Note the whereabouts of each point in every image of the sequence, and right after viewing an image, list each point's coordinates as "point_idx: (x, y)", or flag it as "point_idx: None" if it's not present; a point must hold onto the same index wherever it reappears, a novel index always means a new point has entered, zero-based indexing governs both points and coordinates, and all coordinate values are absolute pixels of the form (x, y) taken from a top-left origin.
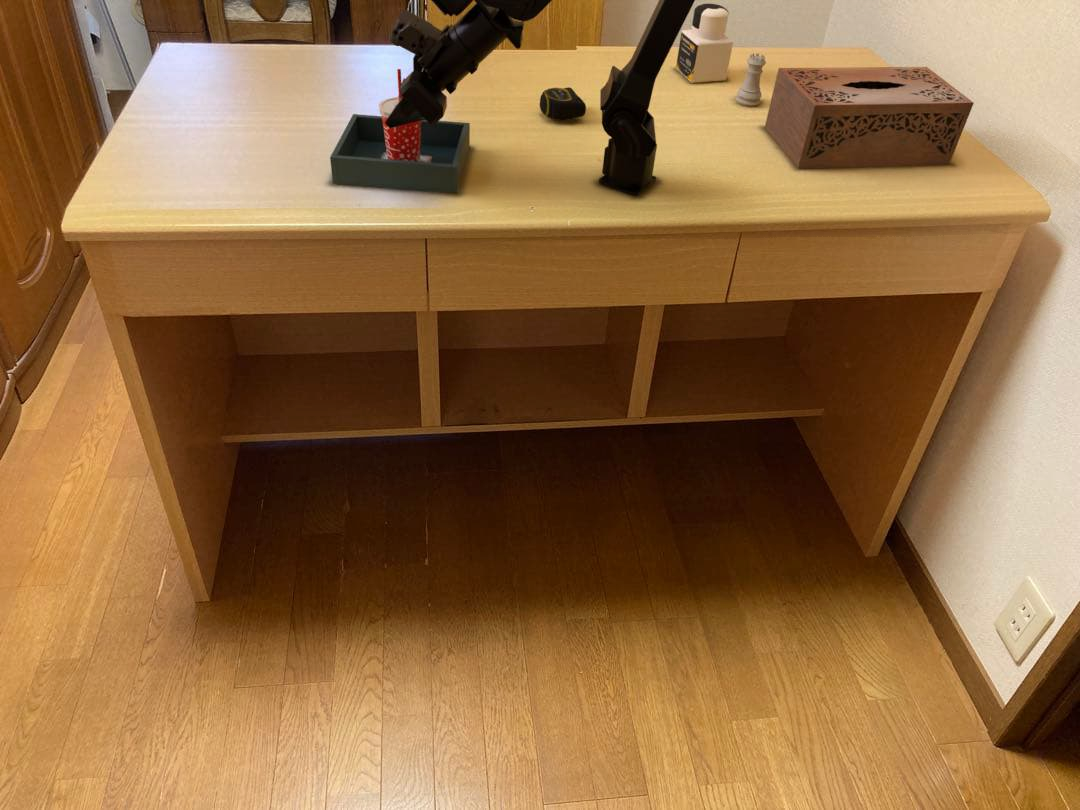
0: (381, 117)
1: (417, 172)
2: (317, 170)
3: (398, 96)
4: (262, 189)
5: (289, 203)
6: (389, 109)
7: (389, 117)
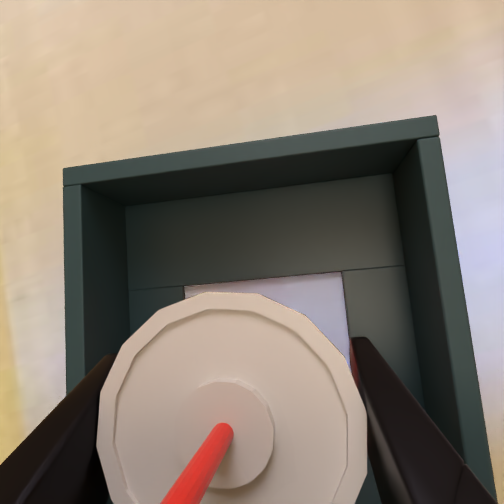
0: (440, 236)
1: None
2: (177, 127)
3: (361, 381)
4: (56, 44)
5: (4, 131)
6: (168, 368)
7: (72, 393)
